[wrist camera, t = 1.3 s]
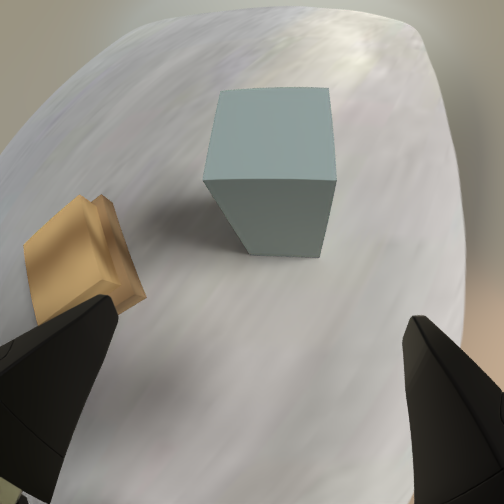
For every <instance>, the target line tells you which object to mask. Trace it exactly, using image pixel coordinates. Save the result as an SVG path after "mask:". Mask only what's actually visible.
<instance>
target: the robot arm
mask: <svg viewBox="0 0 504 504" xmlns="http://www.w3.org/2000/svg"><path fill="white" fill-rule="evenodd" d="M117 323H118V313H117V310H116V308H115V305H114V303H113V300H112V298H111V297H110V296H109V295H104V294H98V295H96V296H94V297H92V298H90V299H88V300H86V301H84V302H82V303H80V304H79V305H77V306H75V307H73V308H71V309H69V310H67V311H65V312H63V313H61V314H60V315H58V316H56V317H54V318H52V319H50V320H48V321H47V322H45V323H43V324H41V325H39V326H37V327H35V328H34V329H32V330H30V331H28V332H26V333H24V334H23V335H21V336H19V337H17V338H16V339H14V340H12V341H10V342H8V343H6V344H5V345H3V346H1V347H0V504H28V501H27V498H26V497H25V496H24V495H23V494H22V492H23V491H24V492H26V493H28V494H30V495H31V496H33V497H35V498H37V499H39V500H41V501H43V502H45V503H47V504H50V502H51V500H52V496H53V493H54V489H55V486H56V483H57V480H58V476H59V473H60V470H61V467H62V464H63V461H64V458H65V455H66V452H67V449H68V446H69V444H70V441H71V438H72V436H73V433H74V430H75V428H76V425H77V422H78V420H79V417H80V415H81V412H82V410H83V407H84V405H85V403H86V400H87V398H88V395H89V393H90V391H91V388H92V386H93V384H94V382H95V379H96V377H97V375H98V373H99V370H100V368H101V366H102V364H103V361H104V359H105V356H106V354H107V351H108V348H109V345H110V342H111V339H112V337H113V334H114V331H115V329H116V326H117ZM402 346H403V359H404V374H405V391H406V399H407V406H408V414H409V422H410V431H411V441H412V453H413V469H414V504H504V392H502V390H501V389H500V388H499V387H498V386H497V385H496V384H495V382H493V381H492V379H491V378H490V377H489V376H487V374H486V373H485V372H484V371H483V370H482V369H481V368H480V367H479V366H478V365H477V364H476V363H475V362H474V361H473V360H472V359H471V358H469V356H468V355H467V354H466V353H465V352H464V351H463V350H462V349H461V348H460V347H458V346H457V345H456V344H455V343H454V342H453V341H452V340H451V339H450V338H449V337H448V336H447V335H446V334H445V333H444V332H443V331H441V330H440V329H439V328H438V327H437V326H436V325H435V324H434V323H433V322H432V321H431V320H429V319H428V318H427V317H426V316H424V315H416V316H412V317H411V318H410V320H409V322H408V325H407V328H406V331H405V333H404V336H403V341H402Z"/></svg>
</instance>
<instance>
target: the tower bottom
mask: <svg viewBox="0 0 504 504" xmlns="http://www.w3.org/2000/svg"><path fill="white" fill-rule="evenodd" d="M91 203H92V204H94V205H95V206H96V207H97V211H98V214H99V218H100V222H101V225H102V229H103V232H104V235H105V239H106V242H107V245H108V248H109V251H110V255H111V258H112V261H113V264H114V267H115V269H116V272H117V275H118V278H119V281H120V284H121V286H120V287H118V288H117V289H115V290H114V291H112V292H111V293H109V294H108V295H109V296H110V297H111V298H112V300H113V303H114V305H115V308H116V310H117V313H118V315H119V314H121V313H122V312H124V311H126V310H127V309H129V308H131V307H132V306H134V305H136V304H137V303H139V302H140V301H142V300H144V299H145V298H147V297H146V295H145V292H144V290H143V287H142V285H141V282H140V280H139V277H138V275H137V272H136V269H135V267H134V264H133V262H132V259H131V256H130V253H129V251H128V248H127V245H126V242H125V239H124V236H123V233H122V230H121V227H120V224H119V221H118V218H117V215H116V212H115V209H114V206H113V203H112V202H111V201H110V200H108V199H107V198H106V197H104V196H103V195H102V194H101V195H100V196H98V197H97V198H96V199H95V200H93V201H92V202H91Z"/></svg>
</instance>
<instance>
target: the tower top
mask: <svg viewBox="0 0 504 504" xmlns="http://www.w3.org/2000/svg"><path fill="white" fill-rule="evenodd" d="M23 246H24V255H25V262H26V269H27V276H28V282H29V287H30V293H31V298H32V302H33V307H34V311H35V316H36V320H37V324H38V326H39V325H41V324H43V323H45V322H47V321H48V320H50V319H52V318H54V317H56V316H58V315H60V314H61V313H63V312H65V311H67V310H69V309H71V308H73V307H75V306H77V305H79V304H80V303H82V302H84V301H86V300H88V299H90V298H92V297H94V296H96V295H98V294H104V295H108V294H109V293H111V292H112V291H114V290H115V289H117V288H118V287H120V286H121V284H120V281H119V278H118V275H117V272H116V269H115V267H114V264H113V261H112V258H111V255H110V251H109V248H108V245H107V242H106V239H105V235H104V232H103V229H102V225H101V222H100V218H99V214H98V211H97V207H96V206H95V205H94V204H92V203H91V202H90V201H88V200H87V199H85V198H84V197H83V196H81V195H78V196H77V197H76V198H75V199H74V200H72V201H71V202H70V203H69V204H68V205H66V206H65V207H64V208H63V209H62V210H61V211H59V212H58V213H57V214H56V215H55V216H54V217H53V218H51V219H50V220H49V221H48V222H47V223H46V224H45V225H44V226H43V227H42V228H40V229H39V230H38V231H37V232H36V233H35V234H34V235H33V236H32V237H31V238H30V239H29V240H28V241H27V242H26V243H25V244H24V245H23Z"/></svg>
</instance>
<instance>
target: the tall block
mask: <svg viewBox="0 0 504 504" xmlns="http://www.w3.org/2000/svg"><path fill="white" fill-rule="evenodd" d="M336 181H337V178H336V161H335V147H334V134H333V124H332V114H331V104H330V96H329V88H314V87H276V88H252V89H238V90H226V91H220V96H219V100H218V104H217V109H216V114H215V118H214V123H213V128H212V133H211V138H210V143H209V148H208V153H207V158H206V163H205V169H204V174H203V182H204V183H205V185H206V186H207V188H208V190H209V191H210V193H211V194H212V196H213V197H214V199H215V201H216V202H217V204H218V205H219V207H220V209H221V210H222V212H223V213H224V215H225V216H226V218H227V220H228V221H229V223H230V224H231V226H232V227H233V229H234V231H235V232H236V234H237V235H238V237H239V239H240V240H241V242H242V243H243V245H244V246H245V248H246V250H247V251H248V253H249V254H250V255H260V256H286V257H312V258H319V257H320V253H321V249H322V245H323V241H324V237H325V232H326V228H327V224H328V219H329V215H330V210H331V205H332V201H333V196H334V191H335V186H336Z"/></svg>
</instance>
